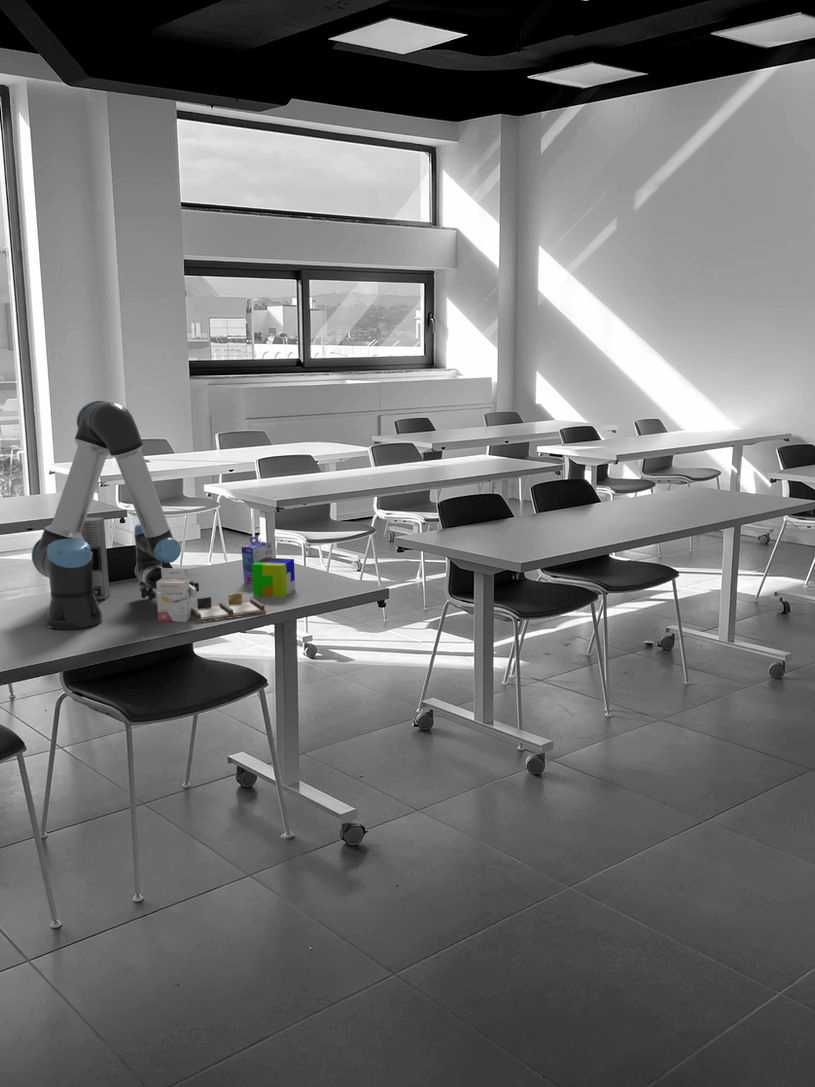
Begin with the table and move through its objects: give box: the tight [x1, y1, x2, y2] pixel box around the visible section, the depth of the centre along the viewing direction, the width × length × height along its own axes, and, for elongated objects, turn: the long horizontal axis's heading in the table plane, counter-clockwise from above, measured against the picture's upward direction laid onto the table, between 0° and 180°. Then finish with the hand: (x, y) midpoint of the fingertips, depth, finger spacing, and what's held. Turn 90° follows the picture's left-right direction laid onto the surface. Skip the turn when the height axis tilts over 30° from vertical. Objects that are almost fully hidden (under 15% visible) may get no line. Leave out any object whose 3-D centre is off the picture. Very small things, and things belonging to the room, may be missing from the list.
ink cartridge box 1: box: [156, 567, 192, 623], centre depth 302 cm, size 9×5×15 cm, turn 84°
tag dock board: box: [191, 592, 267, 623], centre depth 310 cm, size 20×14×4 cm
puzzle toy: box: [252, 557, 296, 598], centre depth 333 cm, size 10×10×10 cm
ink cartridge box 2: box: [241, 536, 274, 585], centre depth 348 cm, size 10×6×14 cm, turn 148°
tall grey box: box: [81, 517, 111, 600], centre depth 327 cm, size 14×6×25 cm, turn 90°
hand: (177, 595), depth 298 cm, fingers closed on ink cartridge box 1, 9 cm apart
